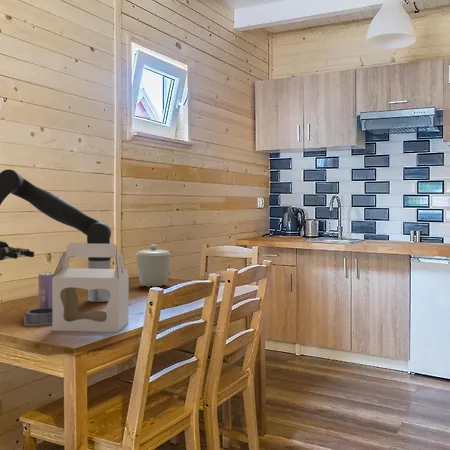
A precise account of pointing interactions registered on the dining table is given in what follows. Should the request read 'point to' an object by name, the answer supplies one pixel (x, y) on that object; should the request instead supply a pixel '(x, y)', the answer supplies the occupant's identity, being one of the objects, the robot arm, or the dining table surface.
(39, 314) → the ring collar
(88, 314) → the gable box
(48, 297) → the beverage can
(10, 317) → the dining table surface
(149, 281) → the canister
